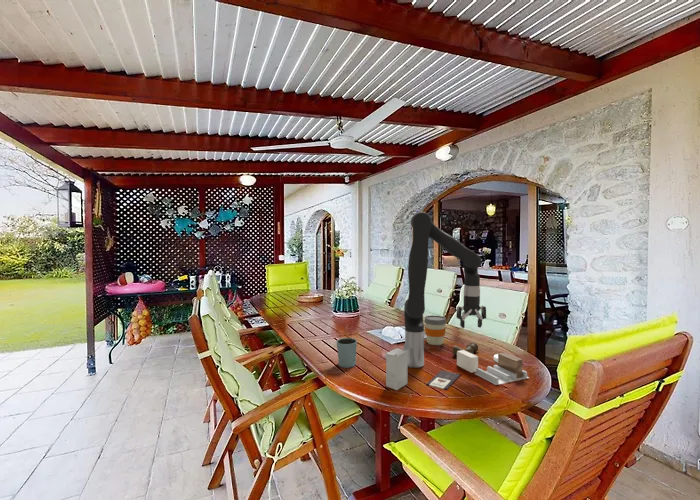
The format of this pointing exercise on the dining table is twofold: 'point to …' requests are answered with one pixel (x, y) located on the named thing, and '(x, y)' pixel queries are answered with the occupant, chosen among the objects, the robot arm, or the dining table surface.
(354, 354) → the grey cup
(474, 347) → the kendama
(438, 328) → the reusable coffee cup
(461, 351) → the cream rectangular block
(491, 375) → the dish rack
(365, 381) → the dining table surface
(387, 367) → the skincare box
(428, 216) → the robot arm
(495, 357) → the white round tin
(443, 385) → the chocolate bar
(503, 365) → the brown rectangular block
